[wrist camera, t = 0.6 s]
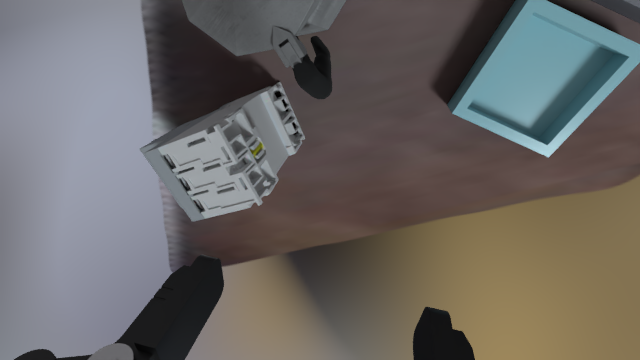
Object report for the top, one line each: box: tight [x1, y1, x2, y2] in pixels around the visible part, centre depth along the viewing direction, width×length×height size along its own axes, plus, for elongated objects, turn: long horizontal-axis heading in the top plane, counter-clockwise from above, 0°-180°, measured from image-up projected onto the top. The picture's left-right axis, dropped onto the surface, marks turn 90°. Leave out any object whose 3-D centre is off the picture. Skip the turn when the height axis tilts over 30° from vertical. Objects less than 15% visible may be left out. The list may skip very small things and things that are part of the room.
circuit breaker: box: [140, 82, 305, 222], centre depth 33 cm, size 8×14×15 cm, turn 112°
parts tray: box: [447, 0, 640, 157], centre depth 28 cm, size 11×11×3 cm
